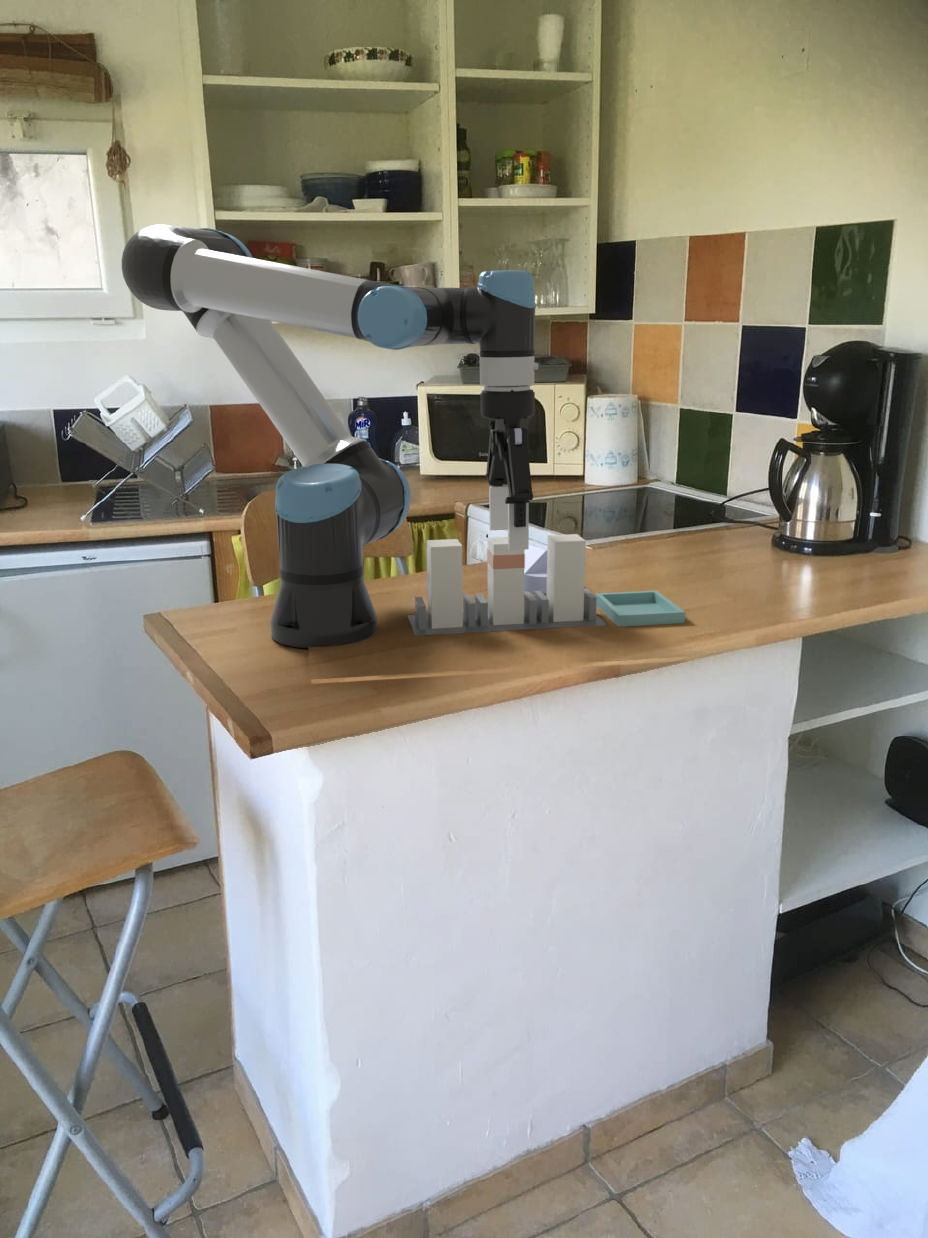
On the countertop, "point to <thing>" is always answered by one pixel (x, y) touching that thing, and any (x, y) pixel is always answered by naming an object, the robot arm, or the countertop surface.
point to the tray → (639, 608)
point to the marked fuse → (505, 582)
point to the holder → (533, 619)
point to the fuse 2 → (565, 577)
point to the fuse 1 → (444, 583)
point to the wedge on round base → (535, 570)
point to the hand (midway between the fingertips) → (508, 539)
